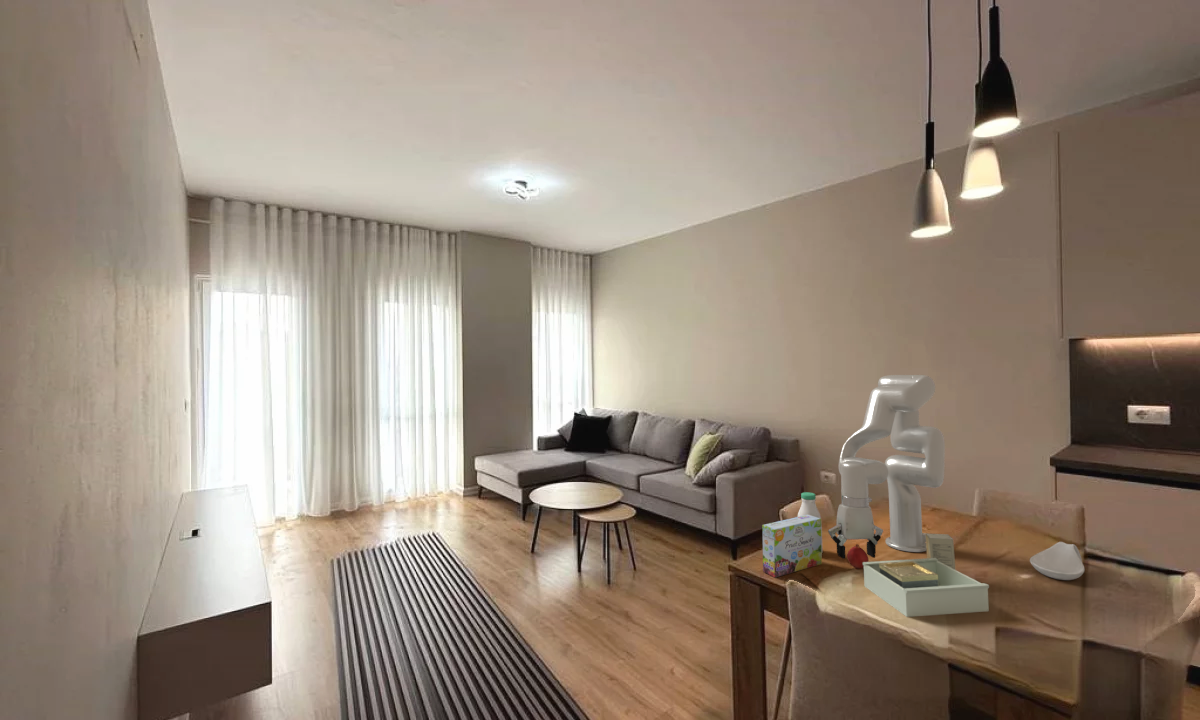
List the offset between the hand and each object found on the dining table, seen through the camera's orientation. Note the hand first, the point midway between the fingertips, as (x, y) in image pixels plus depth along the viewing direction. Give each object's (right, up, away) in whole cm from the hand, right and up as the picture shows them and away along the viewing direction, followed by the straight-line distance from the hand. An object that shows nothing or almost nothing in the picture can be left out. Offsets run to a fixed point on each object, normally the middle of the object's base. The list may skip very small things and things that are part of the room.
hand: (856, 556), depth 150 cm
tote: (+7, -4, -20) cm, 22 cm away
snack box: (-19, -5, +3) cm, 19 cm away
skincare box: (+22, -4, -6) cm, 23 cm away
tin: (+3, -3, -21) cm, 21 cm away
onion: (+1, -4, 0) cm, 4 cm away
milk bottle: (-7, -5, +16) cm, 18 cm away
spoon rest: (+60, -3, -4) cm, 60 cm away
